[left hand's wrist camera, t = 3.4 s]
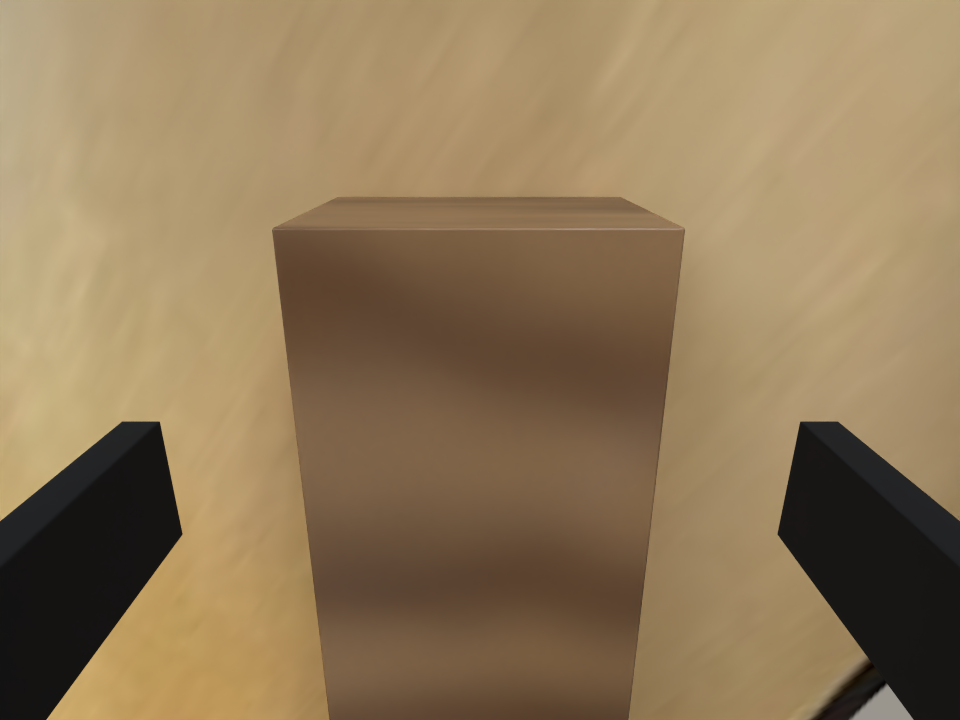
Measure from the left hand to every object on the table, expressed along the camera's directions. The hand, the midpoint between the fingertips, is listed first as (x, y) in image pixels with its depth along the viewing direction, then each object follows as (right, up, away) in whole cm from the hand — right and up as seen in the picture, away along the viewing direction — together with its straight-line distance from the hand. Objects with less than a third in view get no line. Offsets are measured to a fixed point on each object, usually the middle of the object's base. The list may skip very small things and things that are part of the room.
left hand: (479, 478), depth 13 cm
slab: (0, -16, +18) cm, 24 cm away
